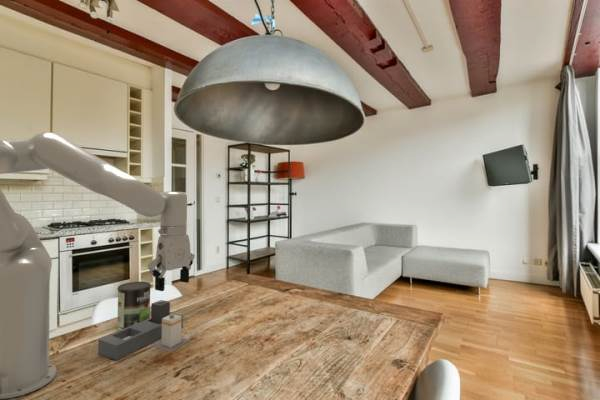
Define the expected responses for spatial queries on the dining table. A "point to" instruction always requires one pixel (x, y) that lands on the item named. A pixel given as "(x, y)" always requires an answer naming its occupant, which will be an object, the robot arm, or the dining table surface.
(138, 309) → the coffee can
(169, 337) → the plug
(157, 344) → the mat
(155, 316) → the twin plug
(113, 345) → the dark grey socket base
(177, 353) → the dining table surface
